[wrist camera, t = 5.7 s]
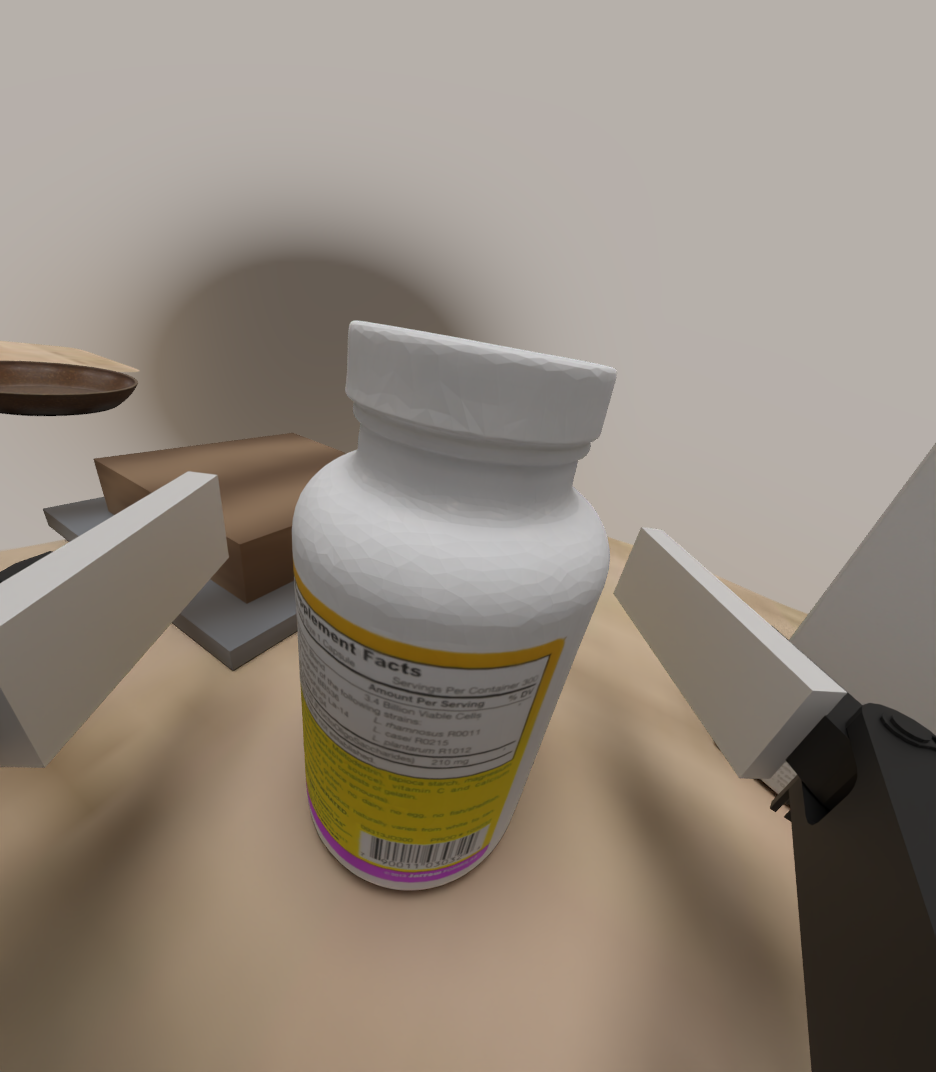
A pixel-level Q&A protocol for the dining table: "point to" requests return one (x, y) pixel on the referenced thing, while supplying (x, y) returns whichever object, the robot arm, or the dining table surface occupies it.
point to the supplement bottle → (442, 595)
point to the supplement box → (883, 612)
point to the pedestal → (250, 525)
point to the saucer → (60, 389)
